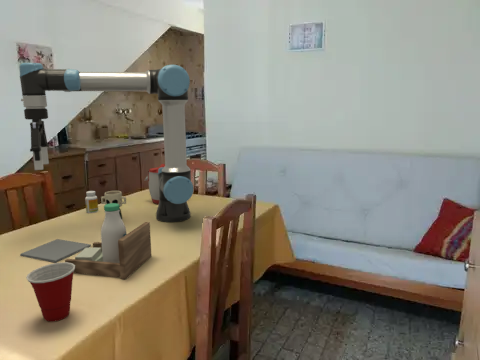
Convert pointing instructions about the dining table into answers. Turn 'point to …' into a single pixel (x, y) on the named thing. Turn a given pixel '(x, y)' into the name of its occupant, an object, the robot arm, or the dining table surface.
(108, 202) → the character mug
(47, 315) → the plastic cup
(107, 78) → the robot arm
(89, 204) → the supplement bottle
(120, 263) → the tray
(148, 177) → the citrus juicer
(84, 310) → the dining table surface
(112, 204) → the milk bottle
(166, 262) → the dining table surface
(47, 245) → the slate tile
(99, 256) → the offcut stack
